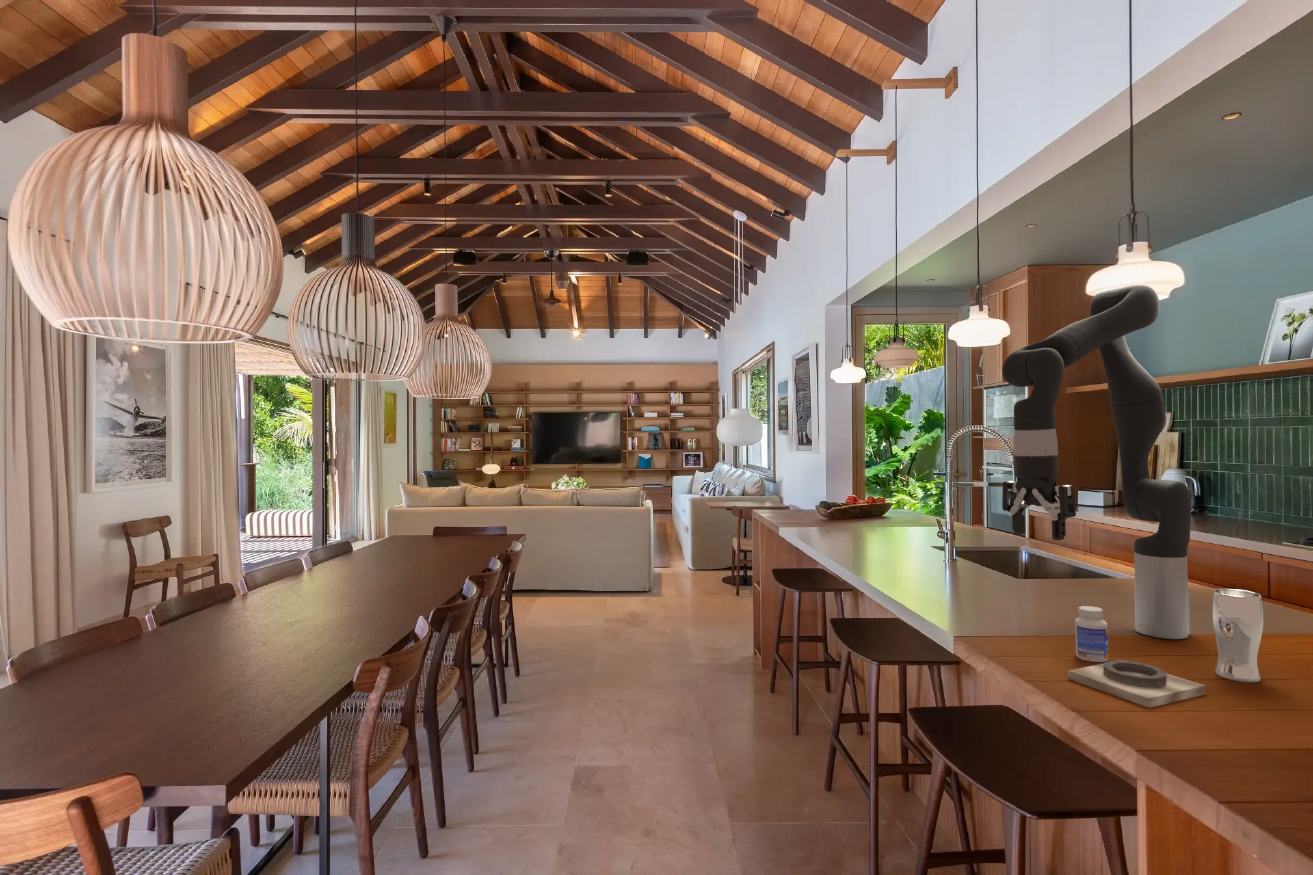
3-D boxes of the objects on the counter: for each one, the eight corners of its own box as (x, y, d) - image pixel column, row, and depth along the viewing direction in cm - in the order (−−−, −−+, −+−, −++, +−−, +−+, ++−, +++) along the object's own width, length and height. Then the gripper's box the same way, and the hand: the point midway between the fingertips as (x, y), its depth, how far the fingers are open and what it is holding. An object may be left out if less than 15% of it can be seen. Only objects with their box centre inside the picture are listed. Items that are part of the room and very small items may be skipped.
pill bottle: (1113, 663, 129) (1112, 612, 129) (1082, 662, 130) (1081, 611, 130) (1101, 654, 135) (1100, 605, 135) (1070, 653, 136) (1070, 604, 136)
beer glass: (1252, 671, 124) (1251, 589, 124) (1272, 685, 117) (1271, 598, 117) (1205, 668, 126) (1204, 587, 126) (1223, 681, 119) (1222, 595, 119)
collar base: (1122, 667, 127) (1122, 651, 127) (1205, 694, 114) (1205, 676, 114) (1068, 678, 122) (1068, 662, 122) (1149, 707, 109) (1148, 689, 109)
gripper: (1083, 452, 126) (1086, 540, 126) (1018, 451, 139) (1021, 530, 140) (1054, 455, 123) (1057, 544, 124) (990, 453, 137) (993, 533, 137)
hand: (1038, 536), depth 132 cm, fingers open, 8 cm apart
